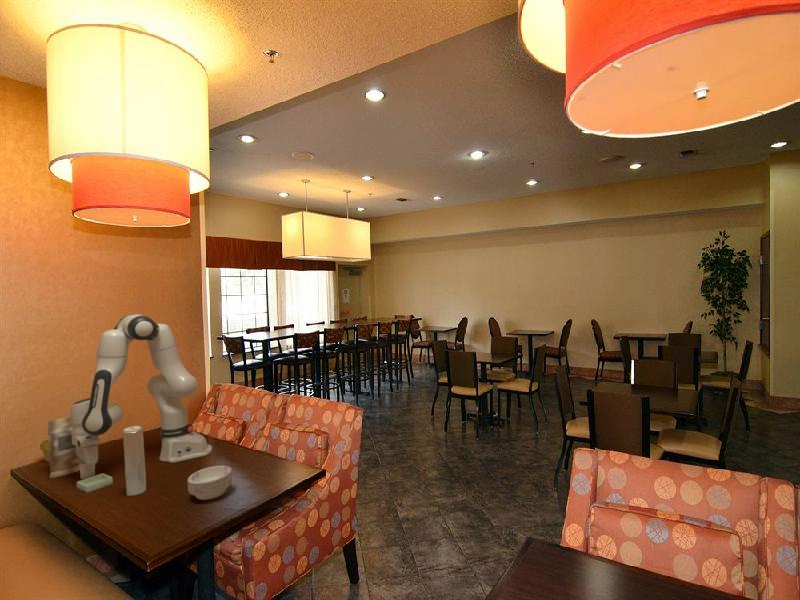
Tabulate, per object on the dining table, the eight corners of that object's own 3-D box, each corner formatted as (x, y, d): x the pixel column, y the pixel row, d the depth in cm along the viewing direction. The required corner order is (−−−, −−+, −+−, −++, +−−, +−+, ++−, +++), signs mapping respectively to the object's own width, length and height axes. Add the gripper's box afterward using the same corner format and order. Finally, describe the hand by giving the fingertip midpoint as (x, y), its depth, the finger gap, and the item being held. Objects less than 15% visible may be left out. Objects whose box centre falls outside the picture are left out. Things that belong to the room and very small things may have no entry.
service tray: (103, 479, 175) (102, 473, 175) (112, 483, 170) (112, 477, 170) (77, 488, 168) (76, 481, 167) (86, 493, 162) (86, 486, 162)
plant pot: (42, 459, 202) (41, 439, 202) (69, 454, 208) (68, 434, 208) (40, 466, 193) (38, 445, 193) (68, 460, 200) (67, 439, 200)
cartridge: (97, 473, 180) (95, 456, 180) (92, 477, 175) (91, 461, 175) (83, 475, 179) (82, 458, 178) (78, 480, 174) (76, 463, 174)
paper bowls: (187, 492, 159) (186, 471, 159) (230, 481, 167) (229, 461, 167) (189, 508, 146) (188, 486, 146) (235, 496, 153) (234, 475, 153)
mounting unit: (95, 461, 196) (92, 412, 196) (95, 467, 188) (92, 416, 188) (51, 471, 186) (48, 419, 186) (49, 478, 178) (46, 424, 178)
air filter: (136, 496, 158) (132, 430, 157) (122, 495, 159) (118, 430, 159) (150, 488, 164) (146, 425, 164) (136, 487, 165) (132, 425, 165)
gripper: (70, 435, 181) (72, 466, 181) (81, 444, 168) (84, 478, 168) (87, 430, 186) (89, 461, 186) (100, 439, 172) (102, 472, 173)
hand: (87, 469), depth 177 cm, fingers closed on cartridge, 5 cm apart
